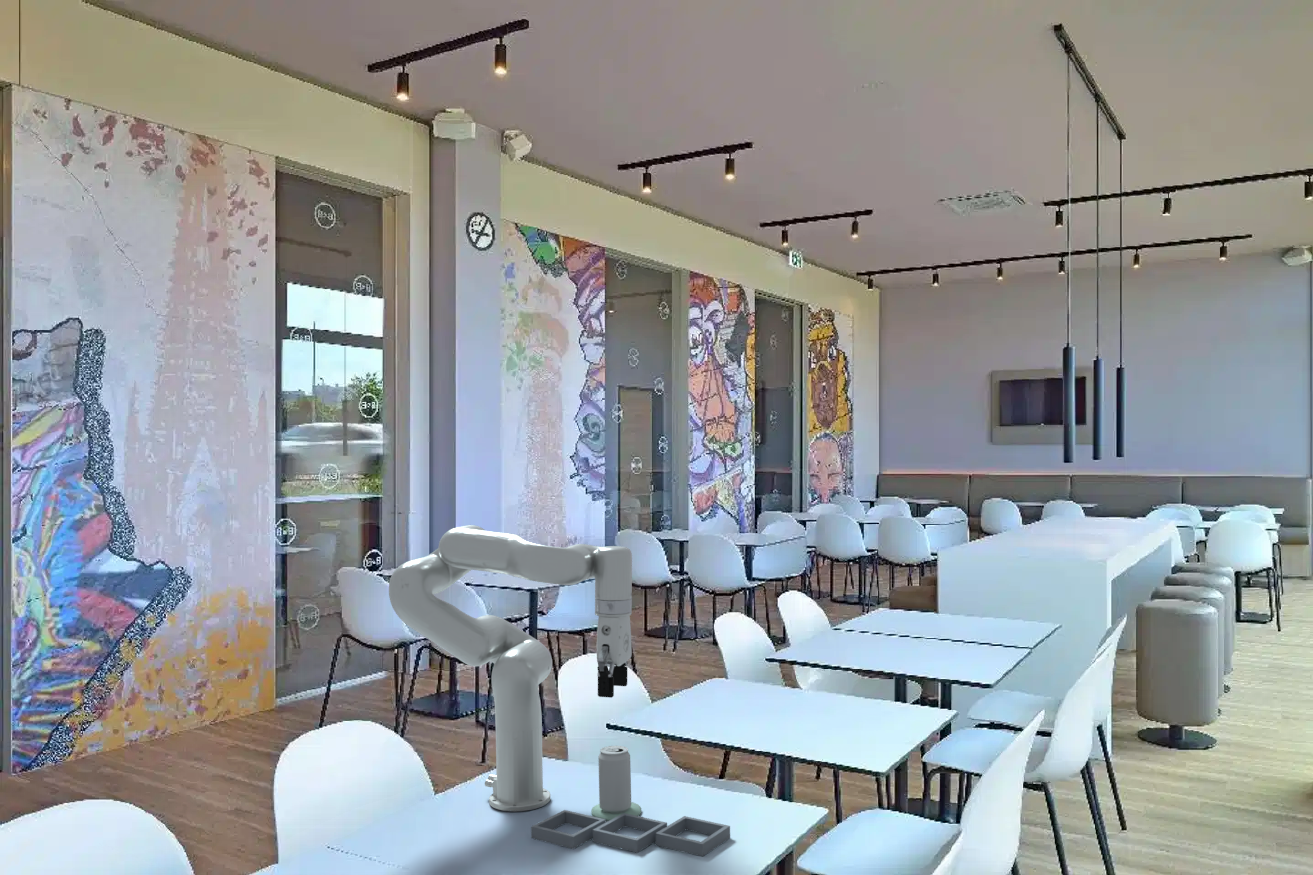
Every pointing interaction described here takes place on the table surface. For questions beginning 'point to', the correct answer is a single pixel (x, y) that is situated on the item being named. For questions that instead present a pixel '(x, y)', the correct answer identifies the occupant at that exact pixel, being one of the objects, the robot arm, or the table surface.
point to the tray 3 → (672, 841)
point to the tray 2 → (608, 837)
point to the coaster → (599, 813)
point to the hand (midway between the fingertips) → (612, 690)
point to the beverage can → (614, 779)
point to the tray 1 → (547, 834)
